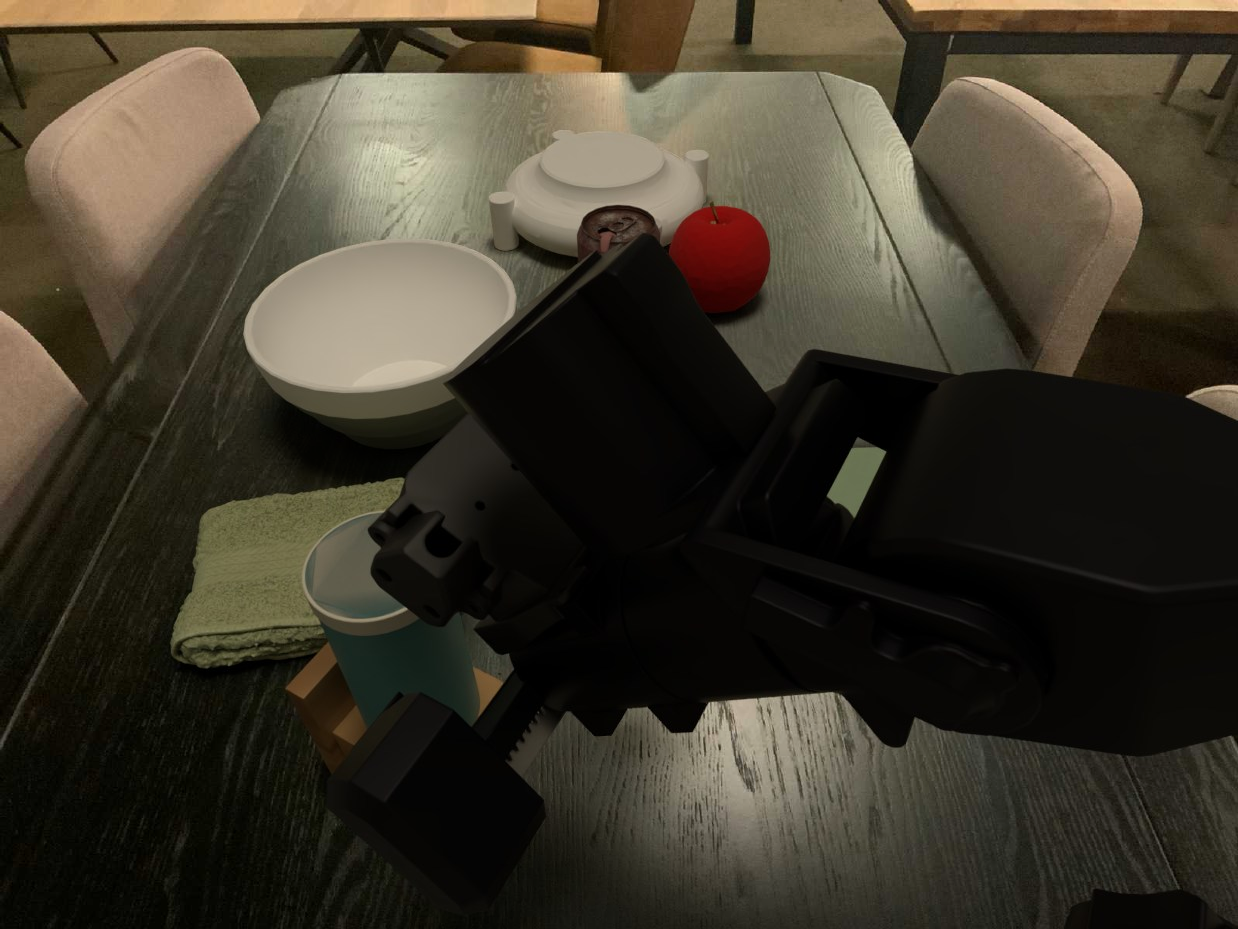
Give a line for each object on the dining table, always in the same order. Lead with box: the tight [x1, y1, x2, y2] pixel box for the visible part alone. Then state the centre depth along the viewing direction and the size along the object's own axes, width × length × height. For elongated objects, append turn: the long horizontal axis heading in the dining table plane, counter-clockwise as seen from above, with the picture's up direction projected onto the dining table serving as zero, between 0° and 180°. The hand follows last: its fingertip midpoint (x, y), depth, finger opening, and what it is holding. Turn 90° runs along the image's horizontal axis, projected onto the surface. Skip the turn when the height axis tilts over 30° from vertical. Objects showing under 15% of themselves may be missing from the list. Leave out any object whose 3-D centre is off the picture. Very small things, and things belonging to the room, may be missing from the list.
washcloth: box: [170, 477, 405, 669], centre depth 56 cm, size 13×18×3 cm
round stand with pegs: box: [488, 129, 710, 258], centre depth 87 cm, size 24×24×7 cm
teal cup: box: [302, 510, 480, 729], centre depth 40 cm, size 6×6×12 cm
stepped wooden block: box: [285, 642, 505, 775], centre depth 45 cm, size 8×8×9 cm
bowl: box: [243, 237, 518, 450], centre depth 66 cm, size 20×20×10 cm
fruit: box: [668, 199, 771, 314], centre depth 76 cm, size 9×9×10 cm
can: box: [577, 205, 660, 264], centre depth 67 cm, size 6×6×14 cm
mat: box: [827, 446, 886, 518], centre depth 61 cm, size 11×11×1 cm
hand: (454, 656), depth 38 cm, fingers open, 9 cm apart
